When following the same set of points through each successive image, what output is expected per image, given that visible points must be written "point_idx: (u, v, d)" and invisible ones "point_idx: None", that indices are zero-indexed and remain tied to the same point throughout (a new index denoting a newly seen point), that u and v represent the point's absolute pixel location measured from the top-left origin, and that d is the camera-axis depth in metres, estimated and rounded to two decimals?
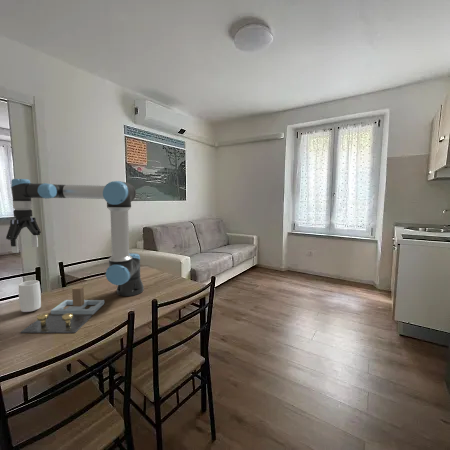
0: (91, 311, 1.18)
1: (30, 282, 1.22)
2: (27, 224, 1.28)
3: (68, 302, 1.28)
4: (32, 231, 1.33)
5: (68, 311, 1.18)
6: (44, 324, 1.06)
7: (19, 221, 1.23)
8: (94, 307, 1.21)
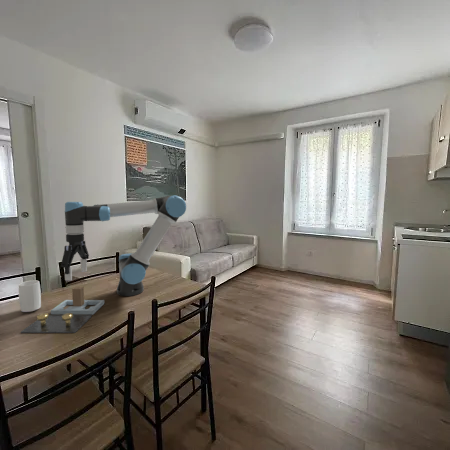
0: (91, 311, 1.18)
1: (30, 282, 1.22)
2: (78, 249, 1.21)
3: (68, 302, 1.28)
4: (82, 255, 1.26)
5: (68, 311, 1.18)
6: (44, 324, 1.06)
7: (72, 247, 1.16)
8: (94, 307, 1.21)
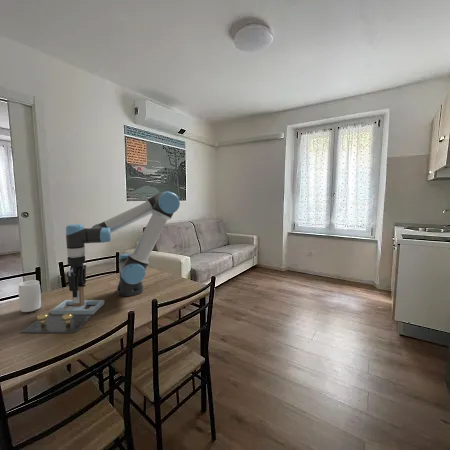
0: (91, 311, 1.18)
1: (30, 282, 1.22)
2: (80, 270, 1.23)
3: (68, 302, 1.28)
4: (79, 281, 1.24)
5: (68, 311, 1.18)
6: (44, 324, 1.06)
7: (74, 270, 1.18)
8: (94, 307, 1.21)
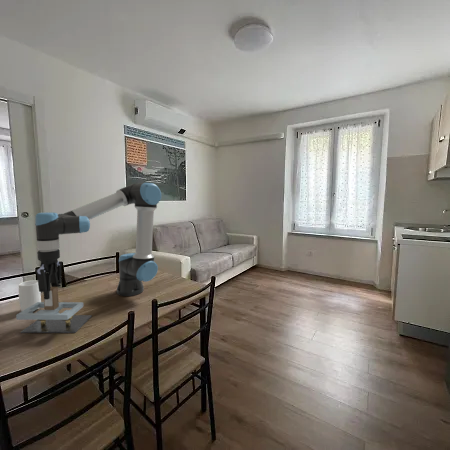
0: (65, 316, 0.99)
1: (30, 282, 1.22)
2: (53, 267, 1.03)
3: (40, 305, 1.09)
4: (53, 280, 1.05)
5: (37, 316, 0.98)
6: (44, 324, 1.06)
7: (45, 267, 0.99)
8: (69, 311, 1.02)
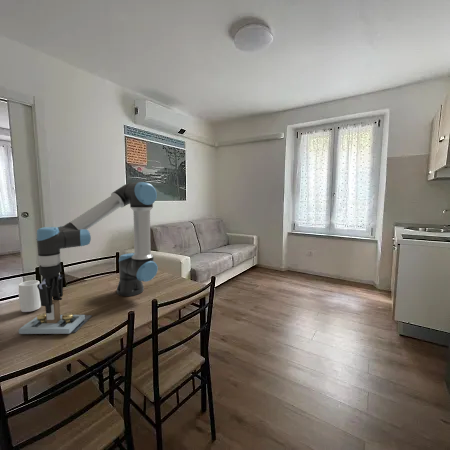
0: (67, 330, 1.00)
1: (30, 282, 1.22)
2: (55, 281, 1.04)
3: None
4: (54, 293, 1.06)
5: (40, 330, 1.00)
6: None
7: (47, 281, 1.00)
8: (71, 324, 1.03)
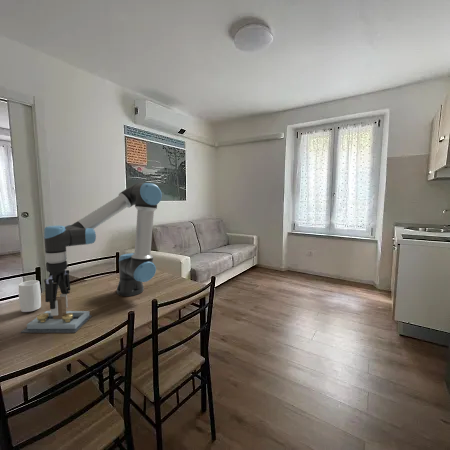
0: (73, 325, 1.04)
1: (30, 282, 1.22)
2: (61, 278, 1.09)
3: (49, 314, 1.14)
4: (62, 288, 1.11)
5: (47, 325, 1.04)
6: None
7: (53, 277, 1.04)
8: (77, 320, 1.08)
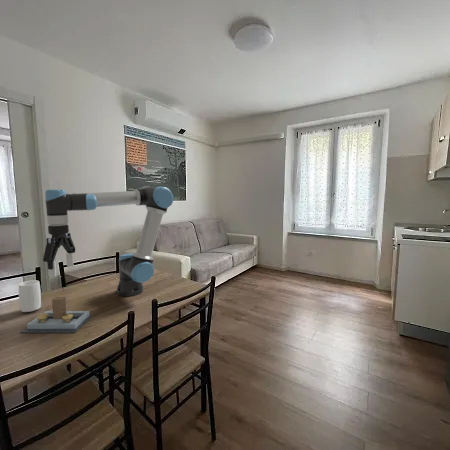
0: (73, 325, 1.04)
1: (30, 282, 1.22)
2: (63, 242, 1.10)
3: (49, 314, 1.14)
4: (67, 249, 1.15)
5: (47, 325, 1.04)
6: None
7: (56, 239, 1.05)
8: (77, 320, 1.08)
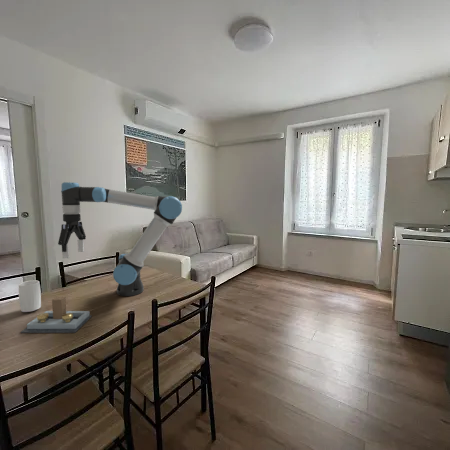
0: (73, 325, 1.04)
1: (30, 282, 1.22)
2: (75, 229, 1.25)
3: (49, 314, 1.14)
4: (79, 236, 1.30)
5: (47, 325, 1.04)
6: None
7: (69, 226, 1.20)
8: (77, 320, 1.08)
